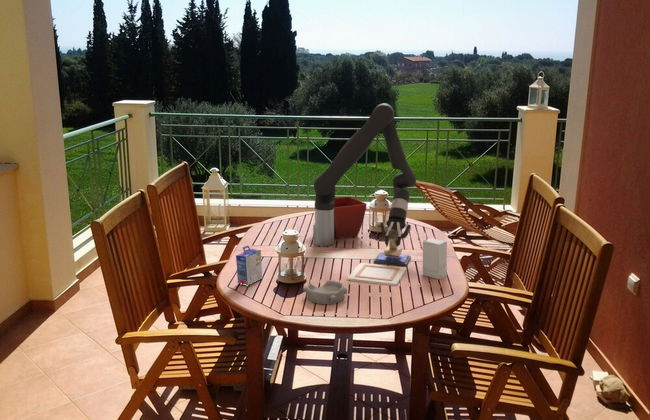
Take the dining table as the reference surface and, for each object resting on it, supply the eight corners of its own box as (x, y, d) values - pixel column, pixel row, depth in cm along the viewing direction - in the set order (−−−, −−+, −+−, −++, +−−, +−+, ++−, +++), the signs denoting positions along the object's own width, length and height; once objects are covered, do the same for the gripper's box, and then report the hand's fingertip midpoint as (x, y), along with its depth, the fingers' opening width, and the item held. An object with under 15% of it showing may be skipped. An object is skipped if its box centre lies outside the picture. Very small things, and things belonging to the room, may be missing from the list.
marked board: (347, 280, 251) (347, 277, 251) (360, 264, 270) (360, 262, 270) (396, 285, 245) (396, 283, 245) (406, 269, 264) (406, 266, 264)
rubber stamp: (384, 255, 272) (384, 230, 269) (387, 251, 278) (387, 226, 275) (398, 257, 270) (399, 231, 267) (401, 252, 276) (402, 227, 273)
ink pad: (373, 263, 272) (373, 259, 271) (379, 255, 282) (379, 251, 281) (405, 266, 267) (406, 262, 267) (410, 258, 277) (410, 254, 277)
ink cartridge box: (251, 277, 255) (250, 242, 251) (262, 279, 252) (262, 244, 249) (236, 284, 247) (235, 249, 243) (247, 287, 244) (246, 251, 240)
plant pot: (315, 232, 318) (315, 199, 314) (349, 227, 326) (349, 196, 322) (331, 242, 302) (331, 207, 298) (367, 237, 309) (367, 204, 305)
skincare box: (446, 276, 256) (448, 241, 252) (437, 280, 252) (439, 244, 248) (430, 271, 261) (431, 237, 258) (421, 274, 257) (422, 239, 254)
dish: (299, 298, 233) (298, 285, 232) (325, 289, 242) (325, 276, 241) (326, 309, 223) (326, 296, 222) (353, 299, 232) (353, 286, 231)
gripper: (381, 205, 278) (374, 239, 270) (413, 207, 274) (407, 242, 265) (384, 214, 284) (377, 247, 276) (415, 216, 280) (409, 250, 272)
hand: (392, 245), depth 271 cm, fingers closed on rubber stamp, 4 cm apart
